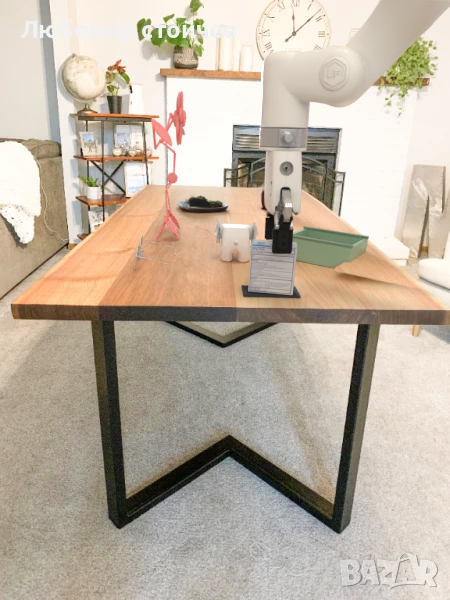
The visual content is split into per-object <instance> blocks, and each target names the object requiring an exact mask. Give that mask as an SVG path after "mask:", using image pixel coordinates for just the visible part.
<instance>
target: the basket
mask: <svg viewBox="0 0 450 600" xmlns="http://www.w3.org/2000/svg"><path fill="white" fill-rule="evenodd" d="M369 238H370V236H369V235H364V234H358V233H352V232H345V231H339V230H332V229H326V228H320V227H313V226H307V225H303V228H302V229H300V230H297V231H293V242H296V243H297V256H296V262H302V263H306V264H312V265H317V266H322V267H326V268H331V269H335V268H337V267H339V266H340V265H342V264H344V263H350V262H352V261H353V260H355V259H357V258H359V257H360V256H362V255H363V254H365V253H366V252H367V250H368V249H367V247H368V243H369Z"/></svg>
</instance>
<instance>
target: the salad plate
mask: <svg viewBox="0 0 450 600" xmlns="http://www.w3.org/2000/svg"><path fill="white" fill-rule="evenodd" d="M176 205H177V206H178V207H179V208H180V209H182V210H184V211H185V210H186V212H188V213H192V212H194V213H193V214H214V213H223V212H225V211H227V209H228V208H229V204H227V203H223V202H222V201H221V200H218V199H217V200H212V199H211V200H210V199H208V198H206V197H205V196H203V195H197V196H195V195H191V197H190V196H189V198H185V199H184V200H183V201H177V202H176Z"/></svg>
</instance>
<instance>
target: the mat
mask: <svg viewBox="0 0 450 600" xmlns="http://www.w3.org/2000/svg"><path fill="white" fill-rule="evenodd" d="M248 286H249V284H241V291H242V295H243V298H281V299H282V298H284V299H285V298H286V299H287V298H291V299H300V298H301V294H300V292H299V291H298V289H297V287H296V286H295V285H294V287H293V295H283V294H271V293H259V292H249V291H248Z"/></svg>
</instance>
